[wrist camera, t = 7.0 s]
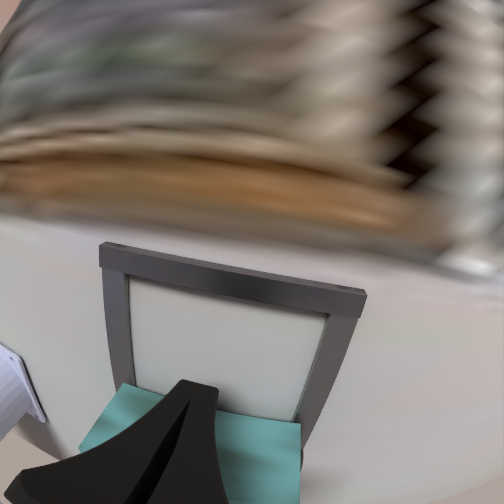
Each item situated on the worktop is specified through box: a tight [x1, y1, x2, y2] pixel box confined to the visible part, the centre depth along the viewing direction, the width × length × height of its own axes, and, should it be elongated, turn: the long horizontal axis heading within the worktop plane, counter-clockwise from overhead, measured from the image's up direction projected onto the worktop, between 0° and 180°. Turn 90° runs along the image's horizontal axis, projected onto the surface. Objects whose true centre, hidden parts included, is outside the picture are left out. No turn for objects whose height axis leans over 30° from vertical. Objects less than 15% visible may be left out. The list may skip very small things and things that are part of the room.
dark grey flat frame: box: [99, 242, 367, 450], centre depth 14 cm, size 11×20×1 cm, turn 171°
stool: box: [78, 383, 303, 504], centre depth 13 cm, size 11×13×5 cm
